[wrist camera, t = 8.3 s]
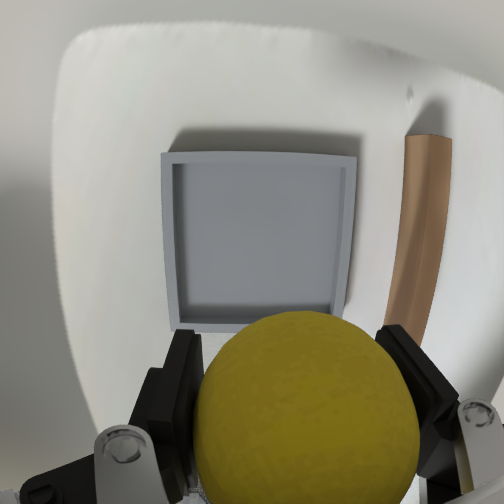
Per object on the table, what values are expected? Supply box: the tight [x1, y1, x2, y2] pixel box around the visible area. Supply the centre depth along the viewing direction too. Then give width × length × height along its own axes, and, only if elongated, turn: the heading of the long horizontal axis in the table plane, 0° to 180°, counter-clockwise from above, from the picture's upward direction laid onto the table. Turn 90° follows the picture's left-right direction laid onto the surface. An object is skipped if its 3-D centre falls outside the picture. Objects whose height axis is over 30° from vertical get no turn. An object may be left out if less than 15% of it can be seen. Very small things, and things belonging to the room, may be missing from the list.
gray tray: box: [161, 151, 357, 333], centre depth 23 cm, size 14×14×2 cm
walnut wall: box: [383, 134, 452, 347], centre depth 23 cm, size 2×18×4 cm, turn 179°
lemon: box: [192, 311, 420, 504], centre depth 7 cm, size 6×6×8 cm
